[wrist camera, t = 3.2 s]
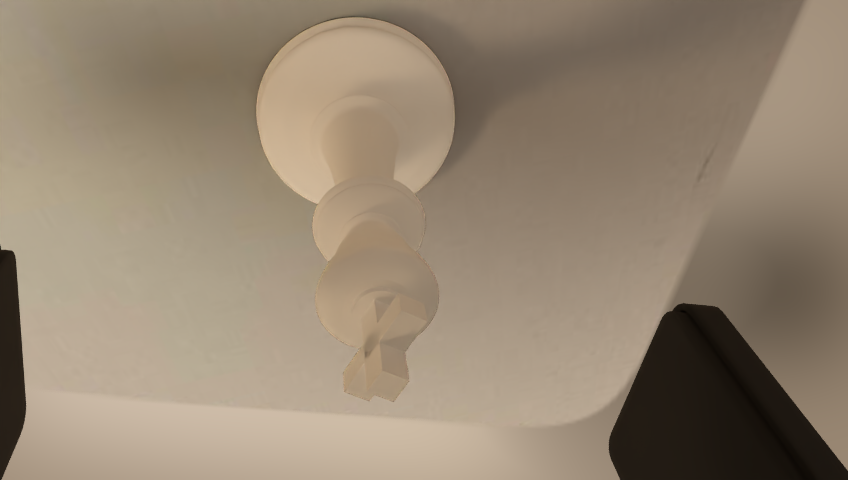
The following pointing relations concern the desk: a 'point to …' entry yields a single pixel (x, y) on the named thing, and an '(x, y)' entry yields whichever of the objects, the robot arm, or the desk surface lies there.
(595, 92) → the desk surface
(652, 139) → the desk surface
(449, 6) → the desk surface
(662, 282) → the desk surface
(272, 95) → the chess piece
